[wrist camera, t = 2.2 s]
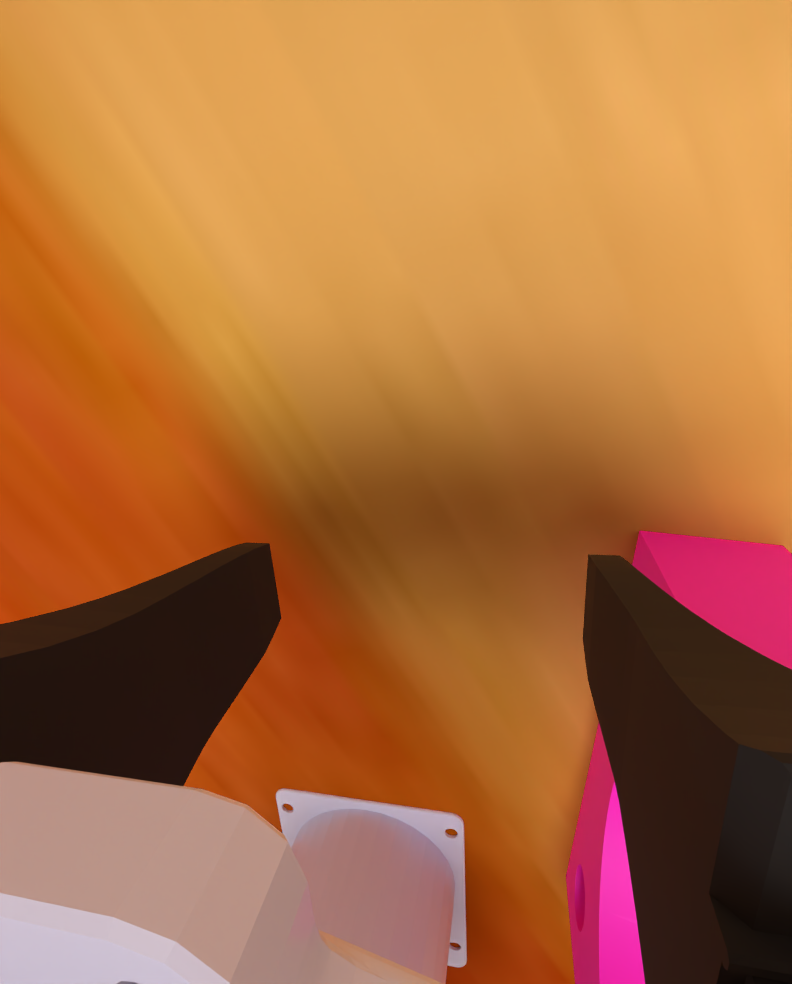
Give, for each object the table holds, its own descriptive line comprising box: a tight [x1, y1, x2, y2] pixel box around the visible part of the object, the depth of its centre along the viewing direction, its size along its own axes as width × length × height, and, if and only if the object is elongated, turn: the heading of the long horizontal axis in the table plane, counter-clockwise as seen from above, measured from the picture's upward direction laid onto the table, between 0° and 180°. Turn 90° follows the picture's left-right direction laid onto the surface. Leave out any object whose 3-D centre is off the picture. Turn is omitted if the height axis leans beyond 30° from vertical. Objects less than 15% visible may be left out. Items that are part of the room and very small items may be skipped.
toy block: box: [566, 531, 792, 984], centre depth 14 cm, size 15×6×8 cm, turn 178°
